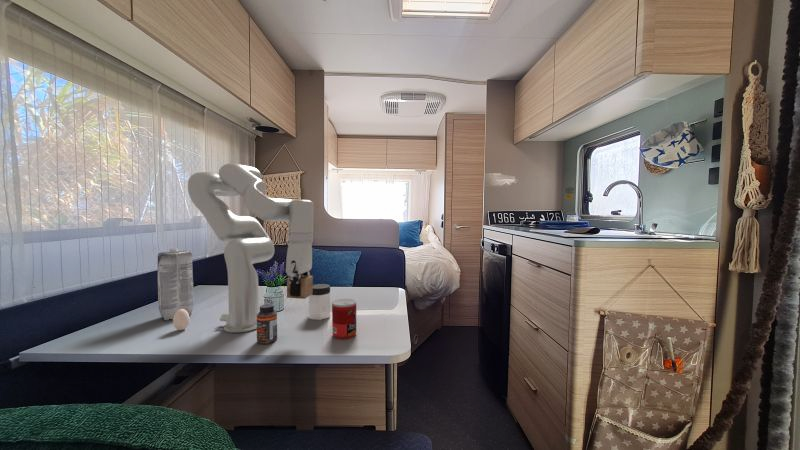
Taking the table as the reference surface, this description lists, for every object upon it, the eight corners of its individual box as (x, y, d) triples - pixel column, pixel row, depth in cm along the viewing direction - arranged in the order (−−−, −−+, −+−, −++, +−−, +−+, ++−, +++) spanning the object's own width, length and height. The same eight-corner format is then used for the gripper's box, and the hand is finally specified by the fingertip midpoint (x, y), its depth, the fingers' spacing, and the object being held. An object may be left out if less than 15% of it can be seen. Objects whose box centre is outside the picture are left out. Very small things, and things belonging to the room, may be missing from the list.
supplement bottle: (252, 343, 93) (251, 307, 92) (265, 336, 98) (265, 302, 98) (268, 345, 91) (268, 308, 91) (281, 338, 97) (280, 303, 97)
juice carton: (195, 315, 120) (193, 248, 119) (161, 322, 112) (159, 250, 111) (189, 311, 126) (188, 246, 125) (157, 317, 118) (155, 249, 117)
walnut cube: (286, 297, 95) (287, 278, 95) (295, 292, 101) (295, 274, 101) (304, 298, 94) (305, 280, 94) (312, 293, 100) (312, 276, 100)
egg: (169, 332, 102) (169, 311, 102) (179, 327, 107) (179, 307, 107) (183, 332, 102) (183, 311, 102) (193, 327, 107) (192, 306, 107)
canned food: (351, 340, 95) (351, 305, 94) (328, 338, 96) (327, 304, 96) (359, 331, 102) (359, 299, 102) (337, 329, 104) (337, 298, 104)
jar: (314, 321, 112) (314, 289, 111) (304, 316, 118) (303, 286, 117) (335, 316, 118) (335, 285, 118) (324, 311, 124) (324, 282, 124)
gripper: (301, 235, 106) (300, 286, 107) (276, 239, 89) (275, 299, 90) (322, 236, 105) (320, 287, 106) (300, 241, 88) (299, 301, 89)
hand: (299, 292), depth 98 cm, fingers closed on walnut cube, 6 cm apart
